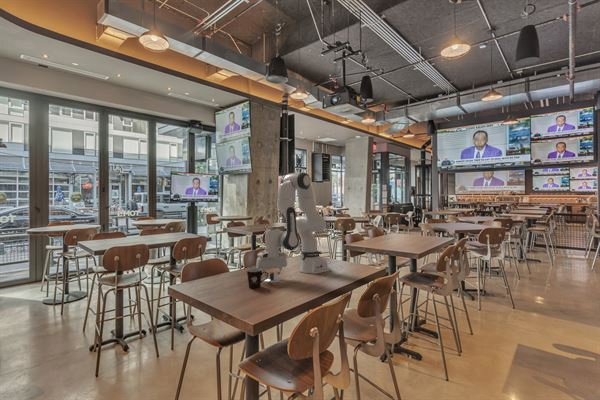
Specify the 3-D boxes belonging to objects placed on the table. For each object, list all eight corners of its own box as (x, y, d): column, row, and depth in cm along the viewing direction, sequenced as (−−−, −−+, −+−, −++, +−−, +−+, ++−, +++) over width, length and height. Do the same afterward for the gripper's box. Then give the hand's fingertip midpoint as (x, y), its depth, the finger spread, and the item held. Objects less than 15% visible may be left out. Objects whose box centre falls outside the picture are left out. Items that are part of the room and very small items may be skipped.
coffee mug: (244, 288, 172) (244, 271, 171) (251, 284, 180) (251, 267, 180) (262, 290, 168) (262, 272, 168) (269, 286, 176) (269, 269, 176)
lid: (276, 276, 197) (276, 269, 197) (284, 281, 187) (284, 273, 187) (259, 279, 192) (259, 272, 192) (266, 284, 181) (266, 276, 181)
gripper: (284, 251, 197) (284, 272, 197) (255, 253, 186) (254, 276, 186) (288, 252, 191) (288, 274, 191) (258, 255, 181) (258, 278, 181)
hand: (271, 275), depth 189 cm, fingers open, 8 cm apart
